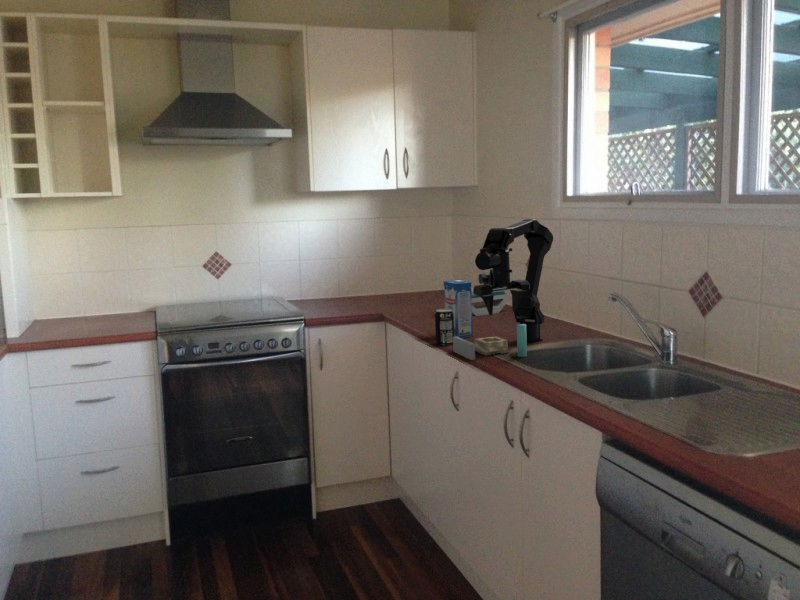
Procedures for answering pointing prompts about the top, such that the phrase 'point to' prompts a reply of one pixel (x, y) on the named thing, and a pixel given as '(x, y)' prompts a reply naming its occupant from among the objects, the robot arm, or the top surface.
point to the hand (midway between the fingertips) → (502, 313)
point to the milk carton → (459, 306)
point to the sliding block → (491, 345)
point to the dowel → (521, 340)
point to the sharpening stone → (498, 302)
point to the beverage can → (444, 326)
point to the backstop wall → (464, 348)
